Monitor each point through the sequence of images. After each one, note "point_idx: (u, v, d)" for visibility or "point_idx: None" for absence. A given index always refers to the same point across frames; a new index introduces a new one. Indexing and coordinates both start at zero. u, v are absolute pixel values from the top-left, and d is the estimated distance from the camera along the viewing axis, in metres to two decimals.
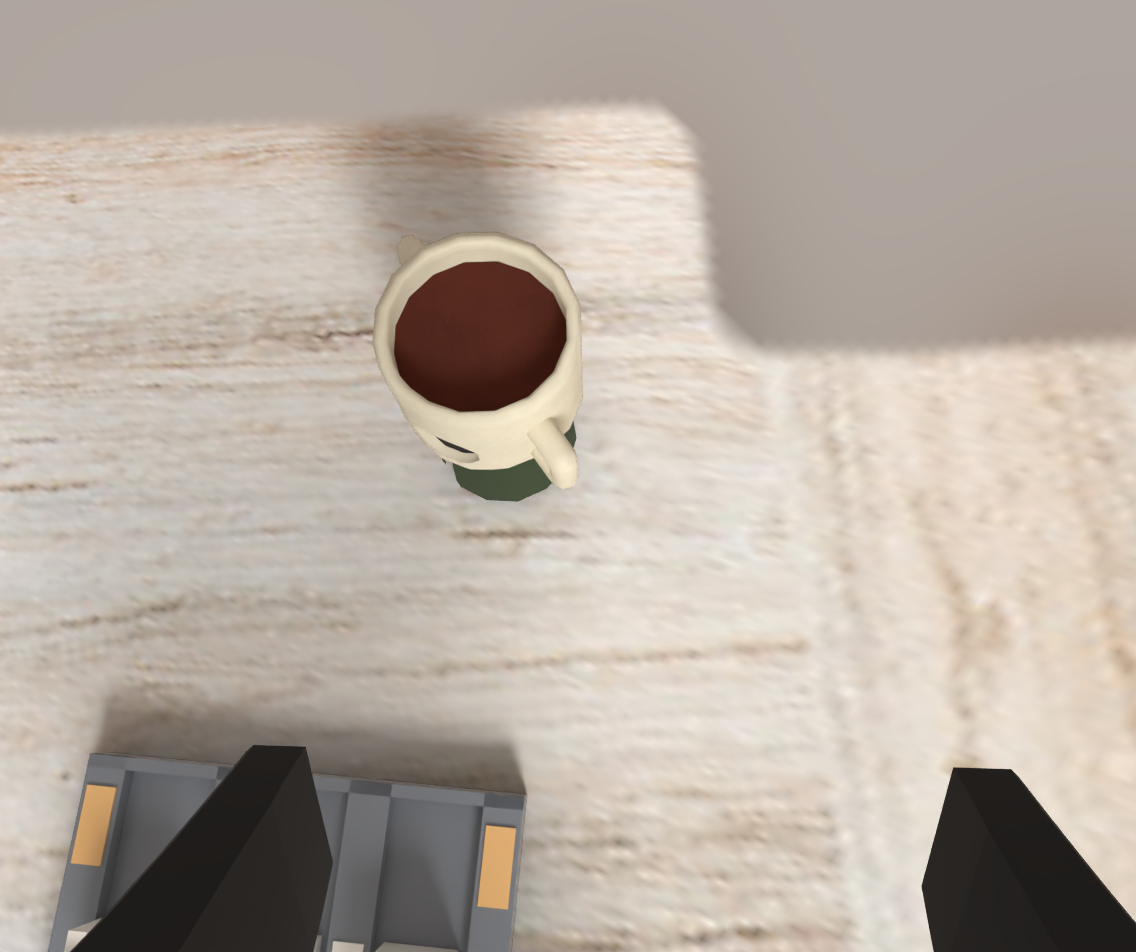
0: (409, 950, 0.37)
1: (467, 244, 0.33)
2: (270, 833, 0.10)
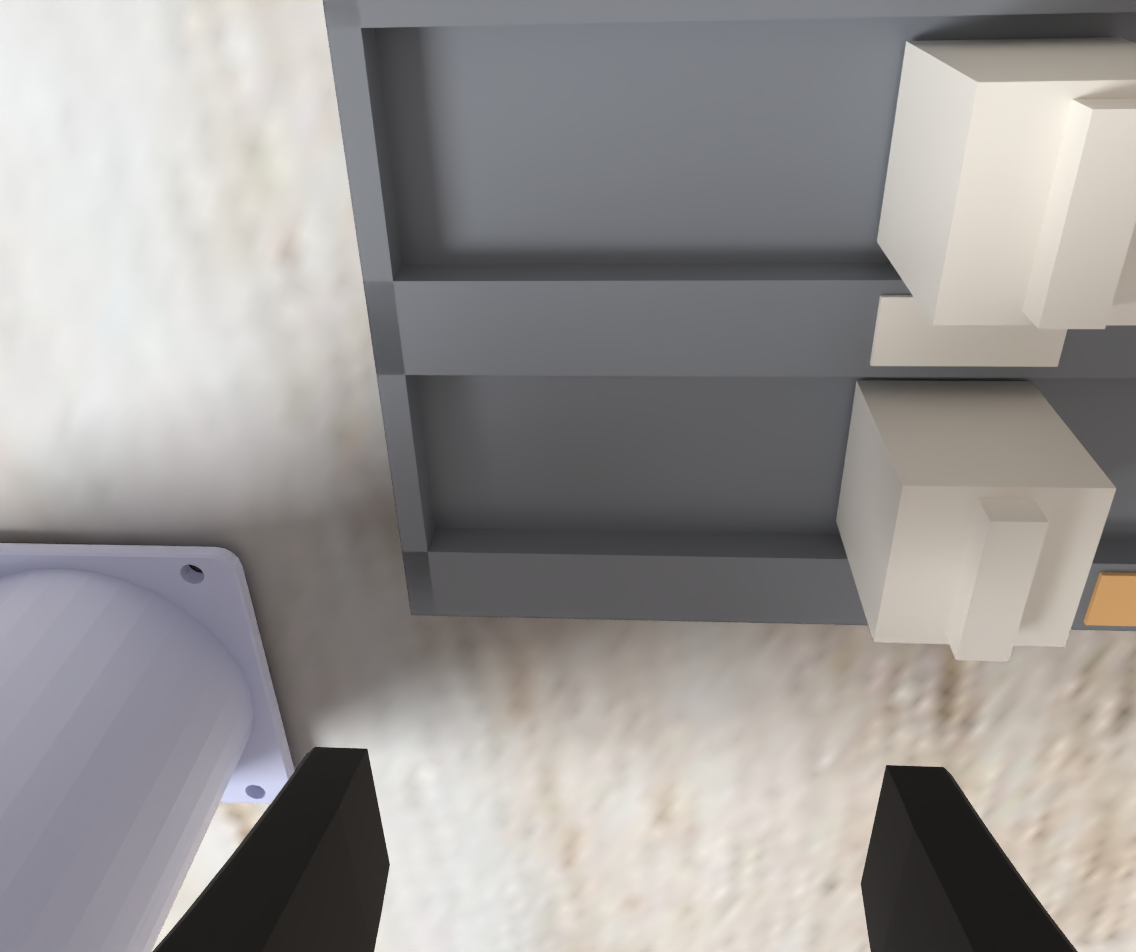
0: None
1: None
2: (337, 835, 0.10)
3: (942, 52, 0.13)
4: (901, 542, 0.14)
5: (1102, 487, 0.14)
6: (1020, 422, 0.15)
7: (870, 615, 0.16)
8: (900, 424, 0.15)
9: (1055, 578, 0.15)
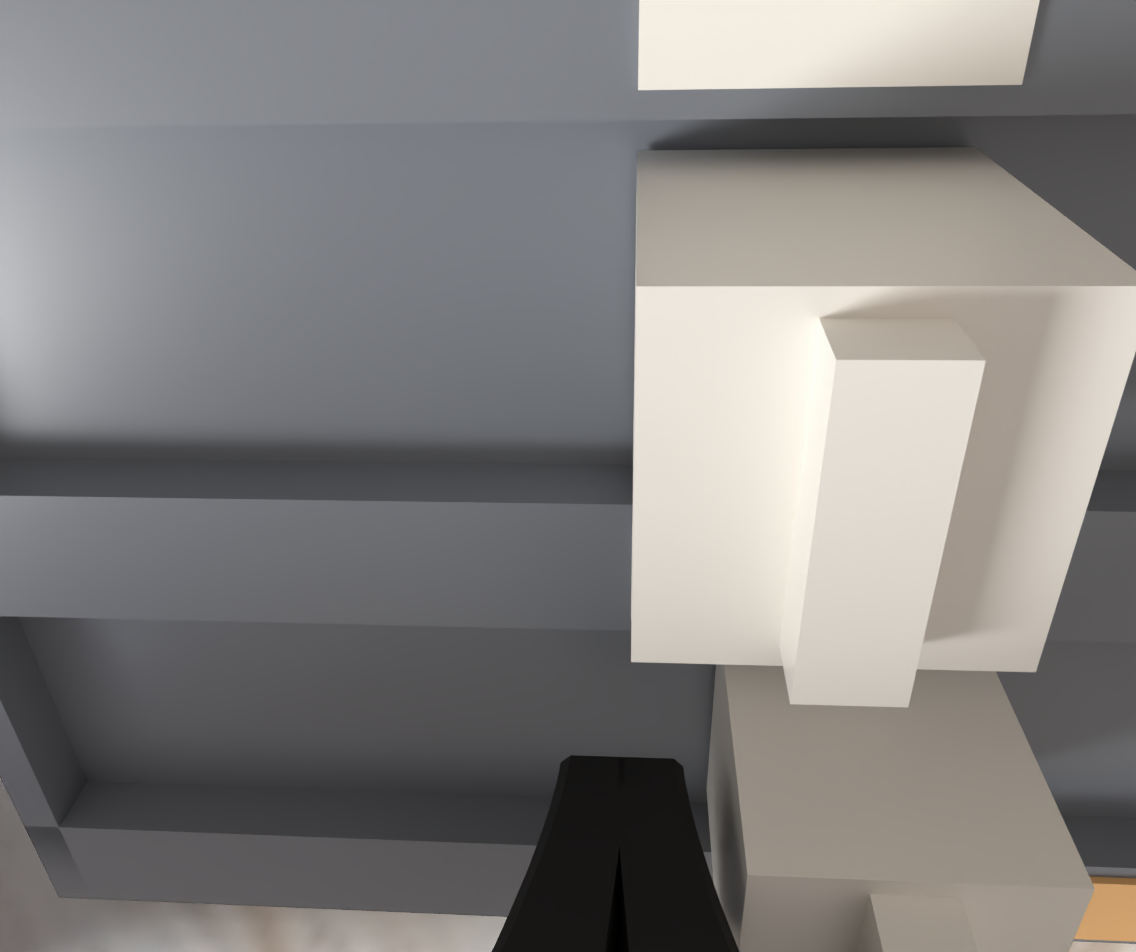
0: None
1: None
2: (622, 847, 0.09)
3: (663, 183, 0.08)
4: (752, 943, 0.09)
5: (1071, 886, 0.08)
6: (950, 718, 0.10)
7: None
8: (767, 721, 0.10)
9: None
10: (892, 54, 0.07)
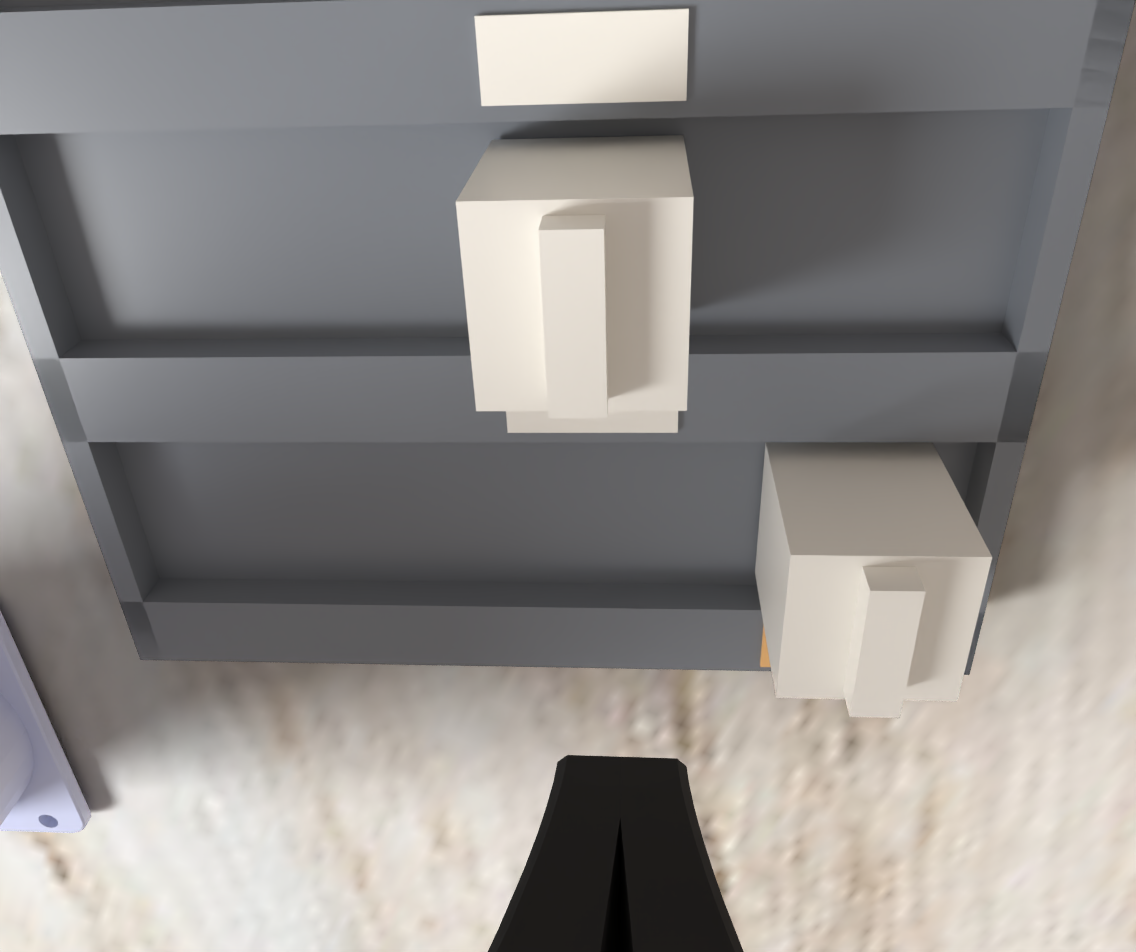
0: None
1: None
2: (618, 847, 0.09)
3: (496, 157, 0.14)
4: (792, 606, 0.15)
5: (978, 555, 0.14)
6: (913, 486, 0.16)
7: (773, 670, 0.16)
8: (799, 489, 0.16)
9: (943, 638, 0.15)
10: (615, 85, 0.14)
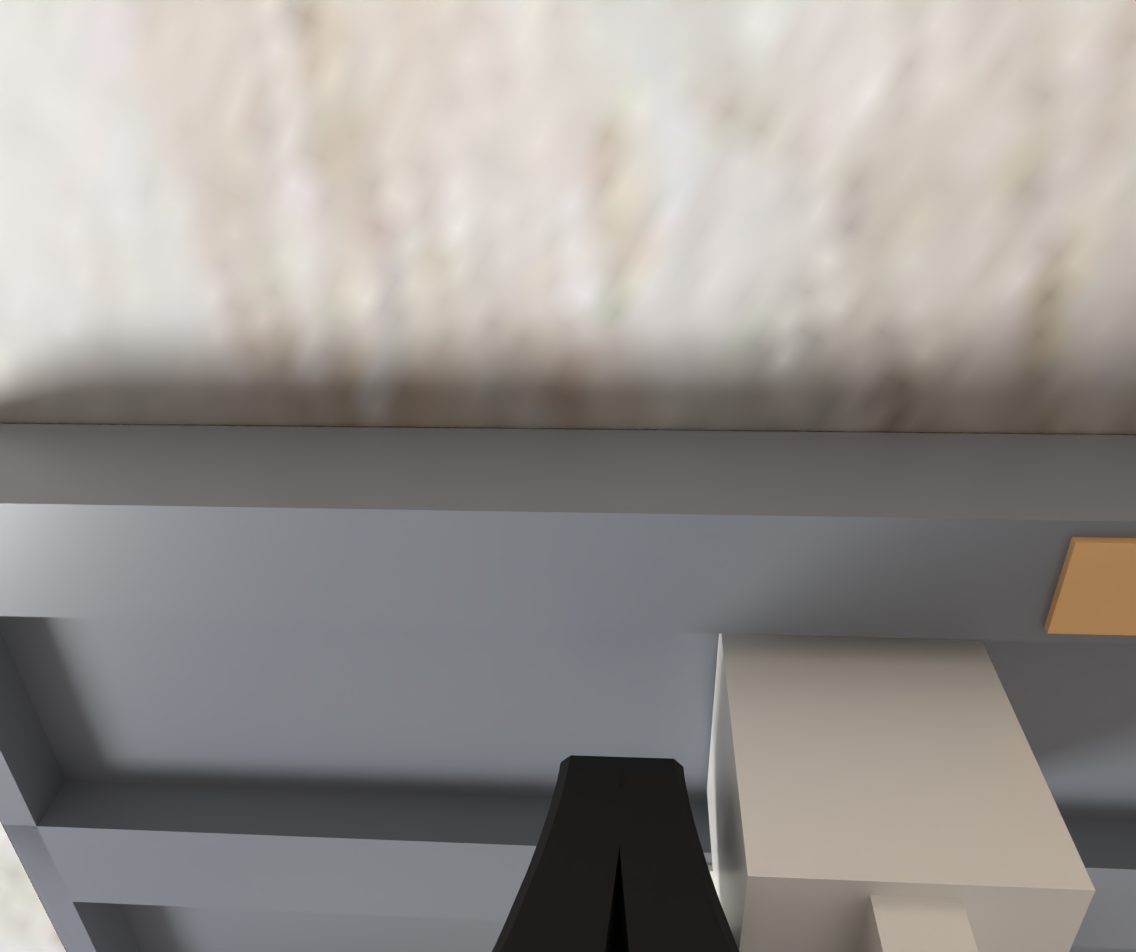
0: None
1: None
2: (622, 847, 0.09)
3: None
4: None
5: None
6: None
7: None
8: None
9: None
10: None
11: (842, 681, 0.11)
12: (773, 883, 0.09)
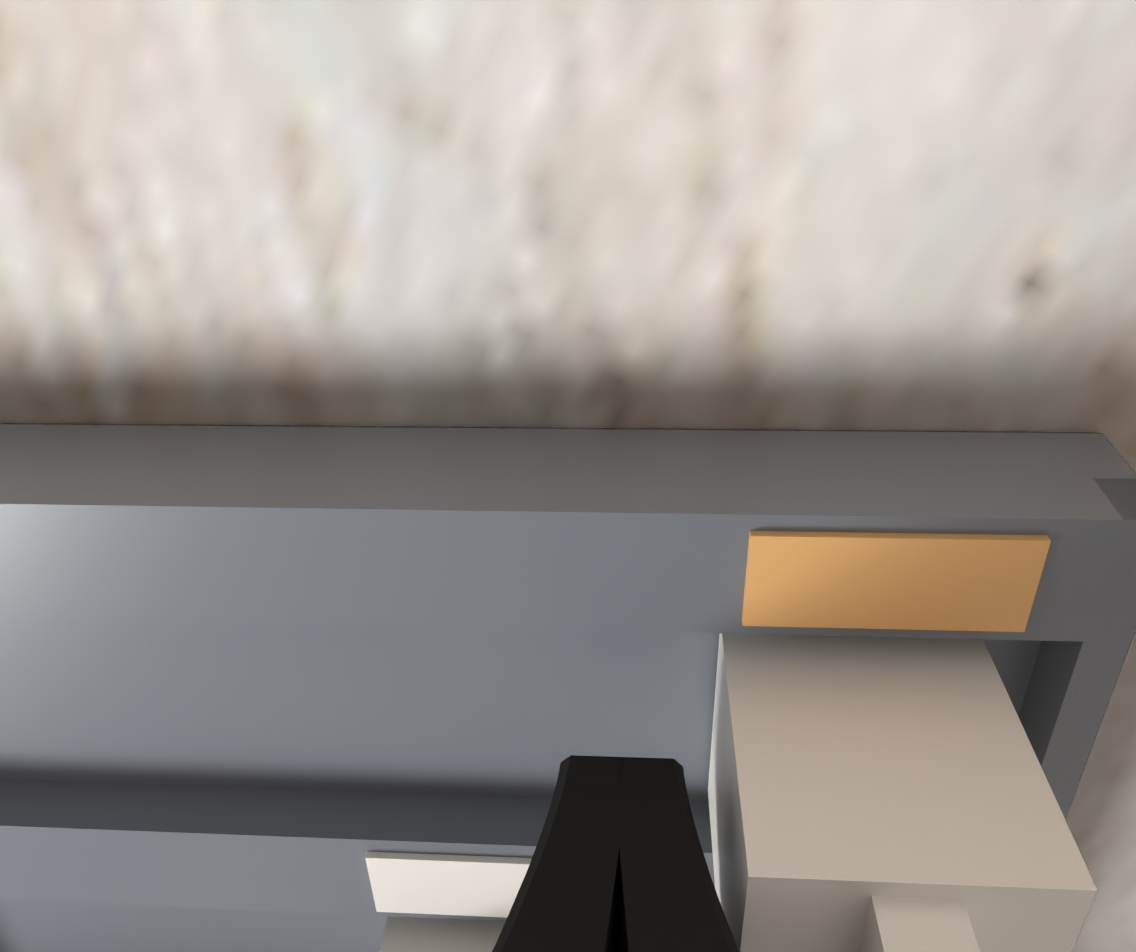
0: None
1: None
2: (622, 846, 0.09)
3: None
4: None
5: None
6: None
7: None
8: None
9: None
10: None
11: (843, 680, 0.11)
12: (774, 883, 0.09)
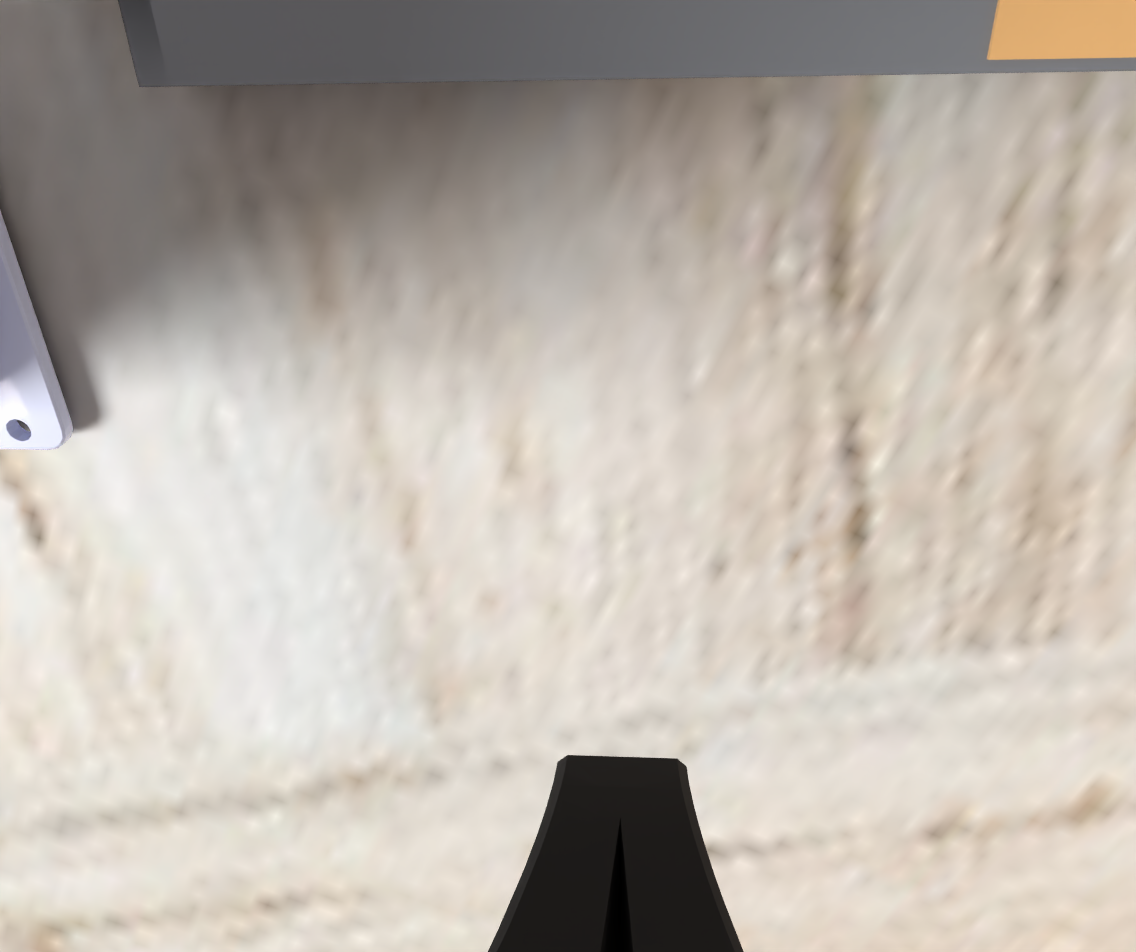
0: None
1: None
2: (618, 847, 0.09)
3: None
4: None
5: None
6: None
7: None
8: None
9: None
10: None
11: None
12: None
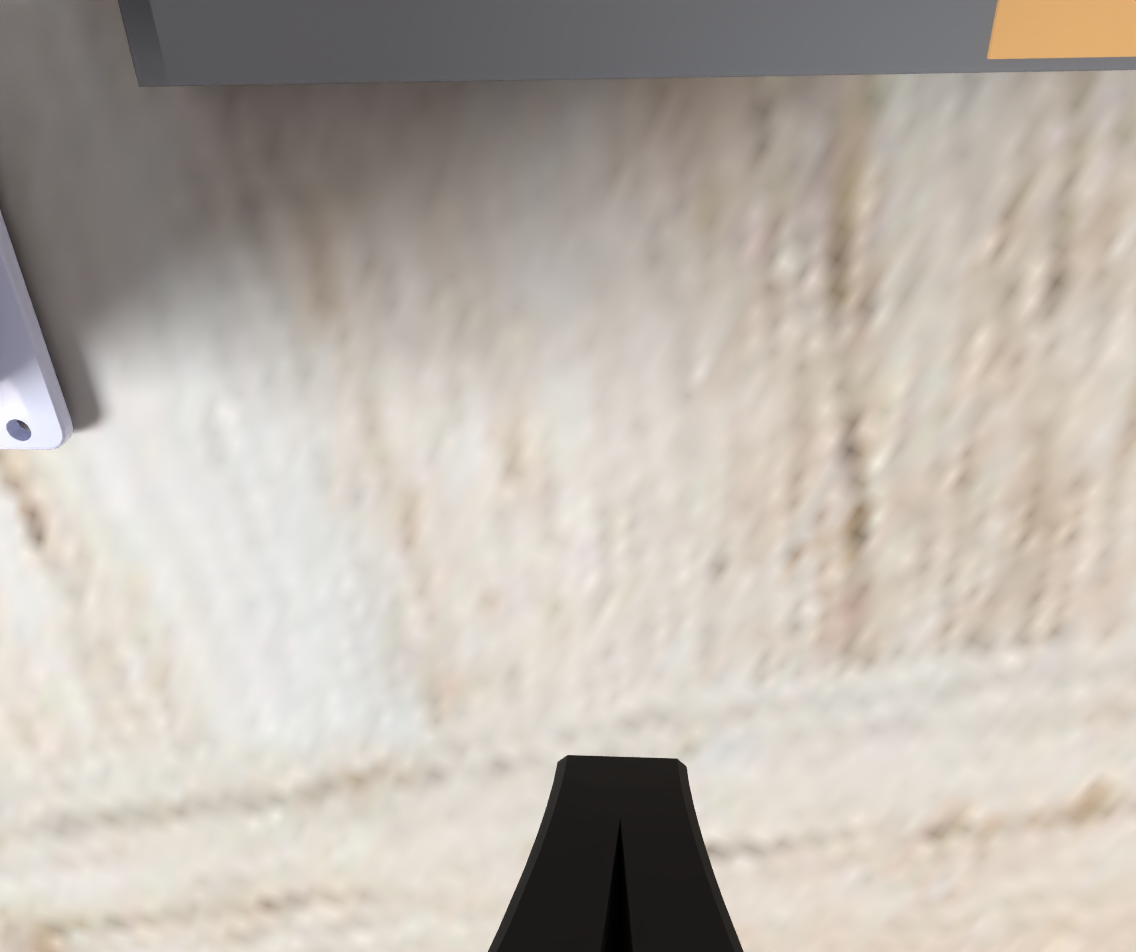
0: None
1: None
2: (619, 846, 0.09)
3: None
4: None
5: None
6: None
7: None
8: None
9: None
10: None
11: None
12: None
